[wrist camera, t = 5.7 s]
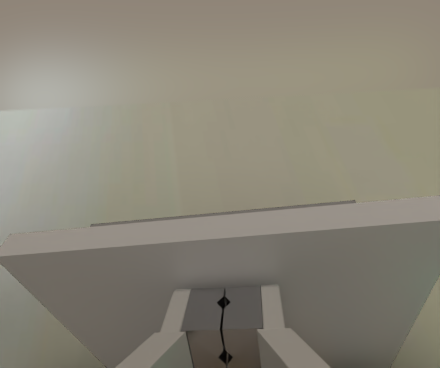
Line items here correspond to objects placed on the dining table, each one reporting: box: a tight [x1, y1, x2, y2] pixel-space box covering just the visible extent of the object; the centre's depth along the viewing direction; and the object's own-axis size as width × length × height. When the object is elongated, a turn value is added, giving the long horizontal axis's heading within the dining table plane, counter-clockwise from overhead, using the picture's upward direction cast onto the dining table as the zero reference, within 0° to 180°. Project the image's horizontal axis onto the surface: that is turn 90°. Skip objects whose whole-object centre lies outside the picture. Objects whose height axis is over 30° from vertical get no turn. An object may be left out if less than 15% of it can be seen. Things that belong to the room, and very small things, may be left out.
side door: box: [0, 195, 440, 368], centre depth 12 cm, size 12×2×13 cm, turn 93°
